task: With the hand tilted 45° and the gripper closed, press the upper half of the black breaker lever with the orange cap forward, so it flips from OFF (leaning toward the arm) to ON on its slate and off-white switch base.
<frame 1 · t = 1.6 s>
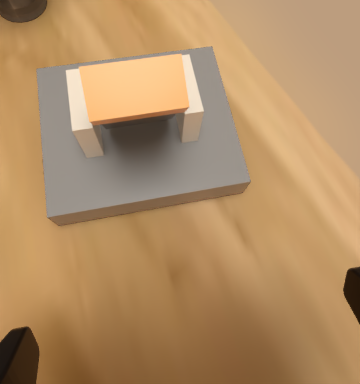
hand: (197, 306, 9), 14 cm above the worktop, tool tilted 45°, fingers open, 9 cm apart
breaker lever: (136, 103, 19), point 7 cm above the worktop, hinge at -25.0°
beverage cup: (23, 5, 30), on the worktop
breaker base: (141, 138, 26), on the worktop
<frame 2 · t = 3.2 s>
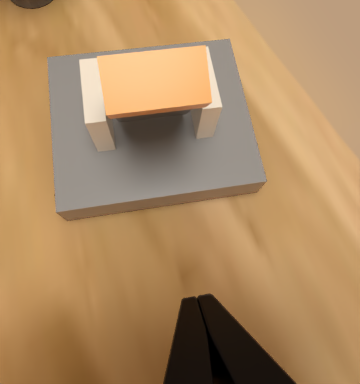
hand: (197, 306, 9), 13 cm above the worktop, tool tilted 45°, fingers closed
breaker lever: (152, 97, 18), point 7 cm above the worktop, hinge at -25.0°
breaker base: (153, 133, 25), on the worktop
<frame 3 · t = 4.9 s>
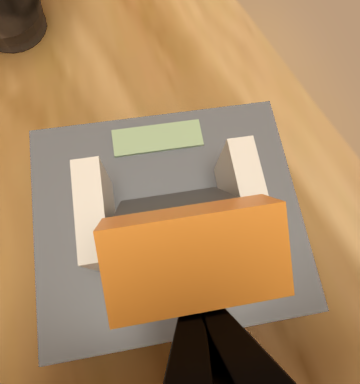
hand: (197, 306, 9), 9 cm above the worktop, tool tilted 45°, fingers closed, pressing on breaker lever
breaker lever: (178, 225, 12), point 7 cm above the worktop, hinge at -23.2°, touching gripper
beverage cup: (15, 29, 23), on the worktop
breaker base: (169, 224, 19), on the worktop
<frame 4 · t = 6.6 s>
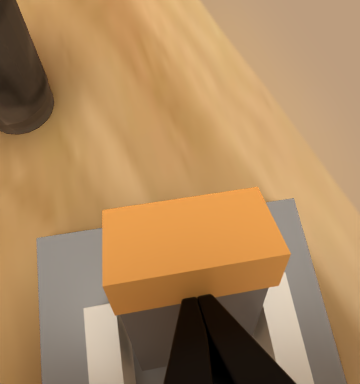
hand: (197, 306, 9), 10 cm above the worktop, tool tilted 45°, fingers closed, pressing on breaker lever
breaker lever: (191, 304, 12), point 7 cm above the worktop, hinge at 27.5°, touching gripper
beverage cup: (21, 106, 22), on the worktop
breaker base: (186, 331, 18), on the worktop
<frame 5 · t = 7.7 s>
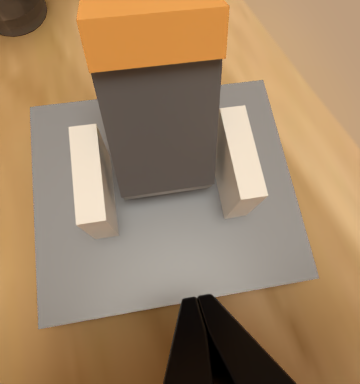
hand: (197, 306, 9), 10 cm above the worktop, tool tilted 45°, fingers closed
breaker lever: (160, 117, 13), point 7 cm above the worktop, hinge at 27.5°
beverage cup: (16, 13, 24), on the worktop
breaker base: (165, 200, 20), on the worktop
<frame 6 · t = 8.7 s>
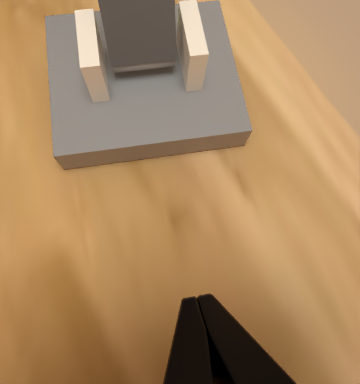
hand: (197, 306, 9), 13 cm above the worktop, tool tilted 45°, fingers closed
breaker lever: (136, 1, 20), point 7 cm above the worktop, hinge at 27.5°
breaker base: (146, 90, 26), on the worktop
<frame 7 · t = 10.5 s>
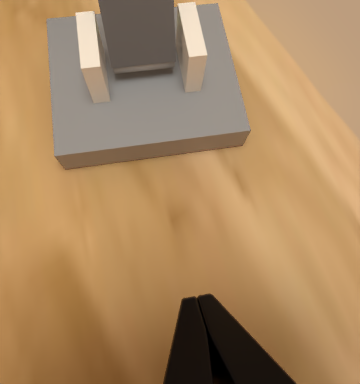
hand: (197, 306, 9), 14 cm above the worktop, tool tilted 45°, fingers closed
breaker lever: (136, 3, 20), point 7 cm above the worktop, hinge at 27.5°
breaker base: (145, 91, 27), on the worktop
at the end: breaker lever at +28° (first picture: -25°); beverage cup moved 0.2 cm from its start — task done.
